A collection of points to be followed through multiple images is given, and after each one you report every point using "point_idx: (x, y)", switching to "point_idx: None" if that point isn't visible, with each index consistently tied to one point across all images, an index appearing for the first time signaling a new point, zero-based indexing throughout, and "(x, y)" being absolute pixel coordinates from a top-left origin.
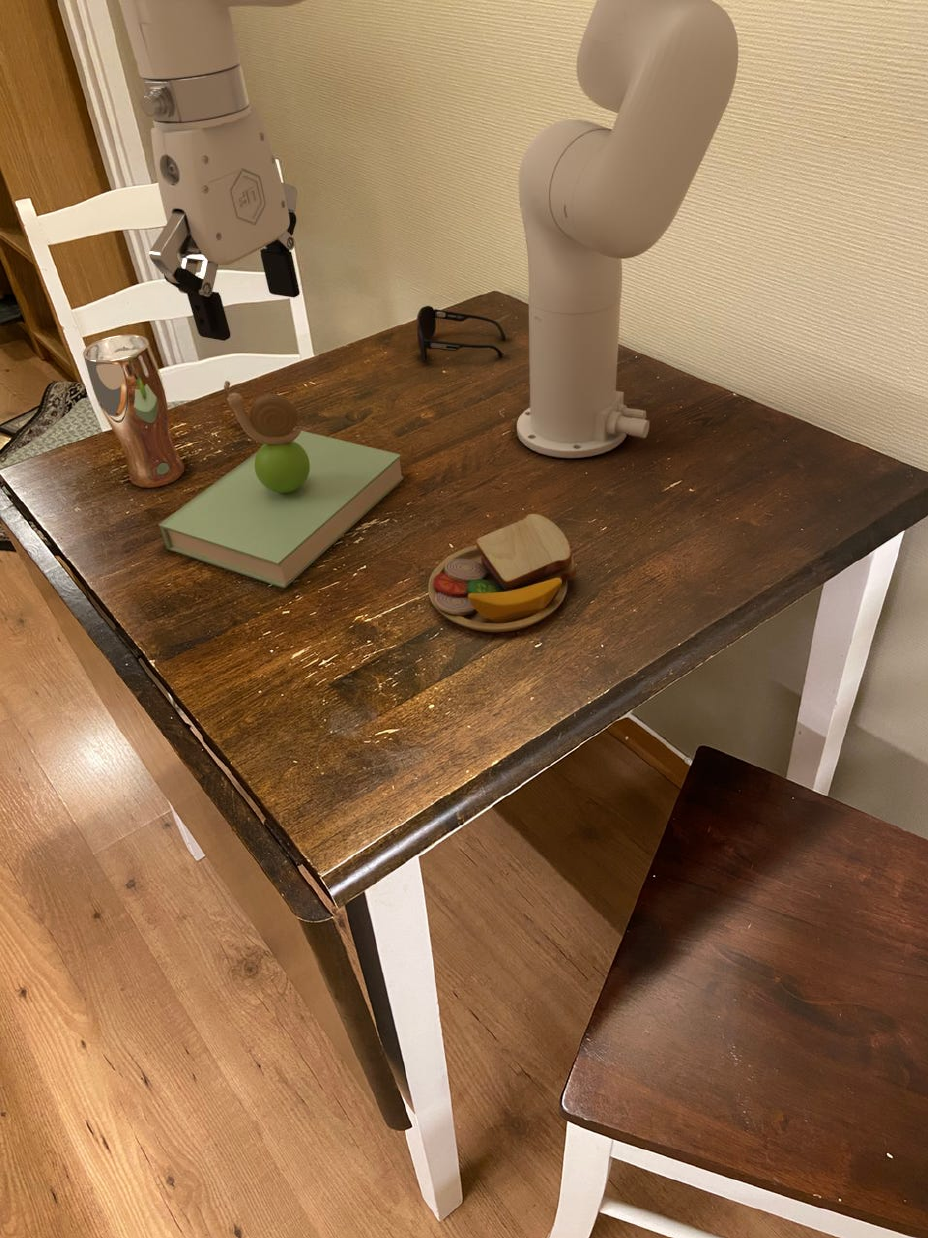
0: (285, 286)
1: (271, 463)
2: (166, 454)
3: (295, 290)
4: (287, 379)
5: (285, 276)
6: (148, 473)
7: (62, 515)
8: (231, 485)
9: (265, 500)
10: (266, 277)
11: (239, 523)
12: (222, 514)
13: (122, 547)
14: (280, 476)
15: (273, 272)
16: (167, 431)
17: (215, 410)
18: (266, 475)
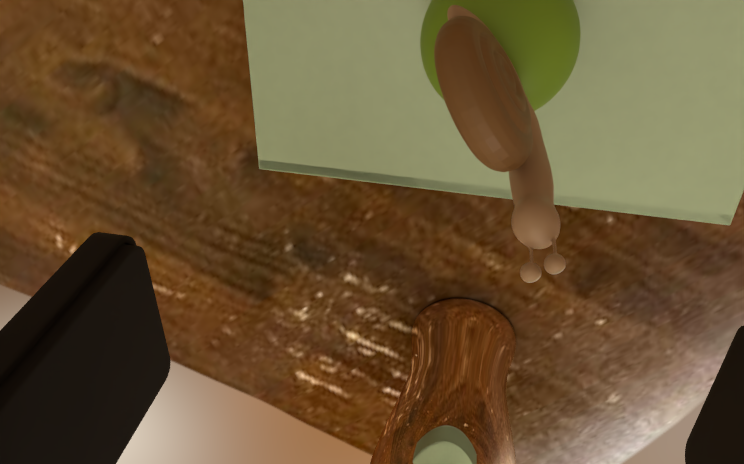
0: (123, 314)
1: (565, 40)
2: (463, 342)
3: (111, 251)
4: None
5: (88, 344)
6: (505, 345)
7: (638, 410)
8: None
9: None
10: (133, 431)
11: (692, 46)
12: (658, 111)
13: (722, 272)
14: (571, 2)
15: (101, 419)
16: (437, 370)
17: (236, 350)
18: (579, 45)
